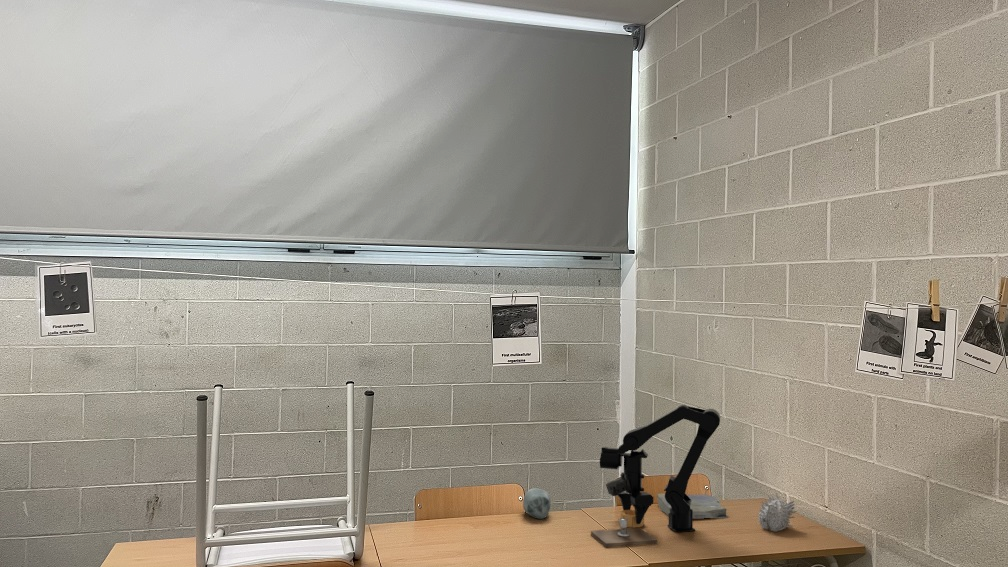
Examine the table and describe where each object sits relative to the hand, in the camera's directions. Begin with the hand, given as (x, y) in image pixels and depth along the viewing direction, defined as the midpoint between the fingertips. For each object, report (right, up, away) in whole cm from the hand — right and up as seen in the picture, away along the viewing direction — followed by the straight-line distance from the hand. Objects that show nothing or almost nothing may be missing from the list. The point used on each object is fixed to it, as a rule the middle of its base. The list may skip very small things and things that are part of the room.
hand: (632, 519), depth 237 cm
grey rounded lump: (-30, -1, +9) cm, 31 cm away
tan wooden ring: (0, -1, 0) cm, 1 cm away
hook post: (-5, 0, -16) cm, 17 cm away
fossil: (+23, -3, +16) cm, 28 cm away
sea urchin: (+45, -2, -3) cm, 45 cm away
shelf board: (-5, -1, -16) cm, 17 cm away
